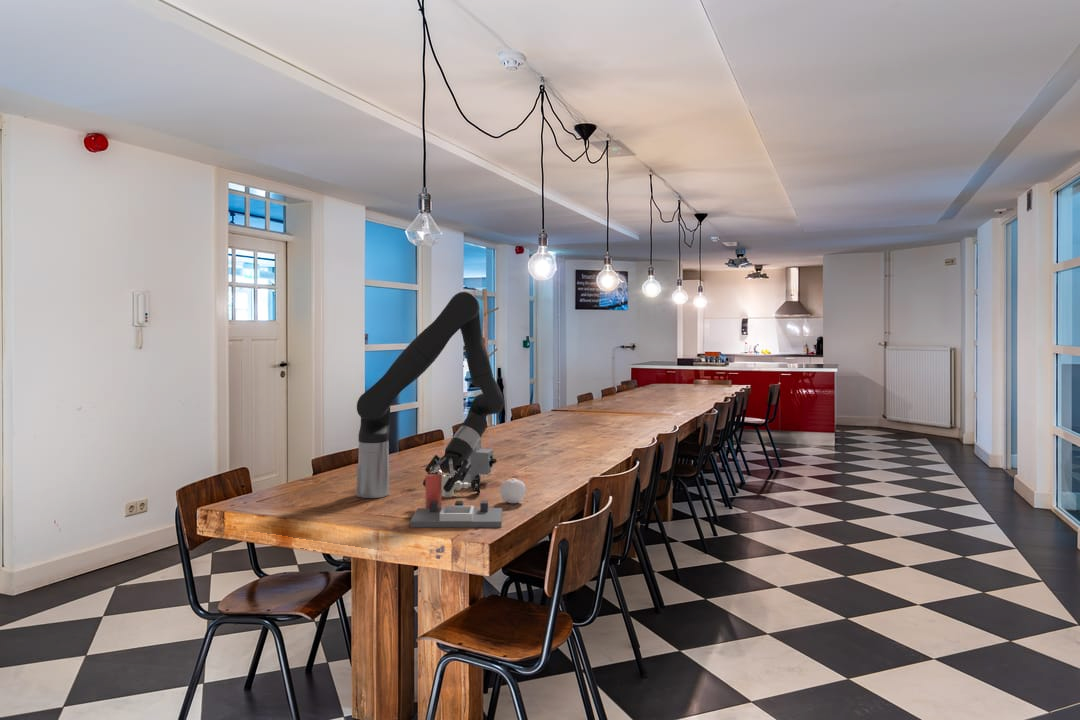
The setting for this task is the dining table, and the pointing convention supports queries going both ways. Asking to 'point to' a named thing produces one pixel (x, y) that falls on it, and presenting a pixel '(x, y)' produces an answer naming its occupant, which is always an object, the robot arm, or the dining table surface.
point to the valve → (461, 485)
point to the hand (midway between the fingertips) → (435, 488)
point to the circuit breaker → (479, 463)
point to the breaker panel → (457, 516)
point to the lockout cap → (433, 489)
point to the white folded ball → (512, 490)
